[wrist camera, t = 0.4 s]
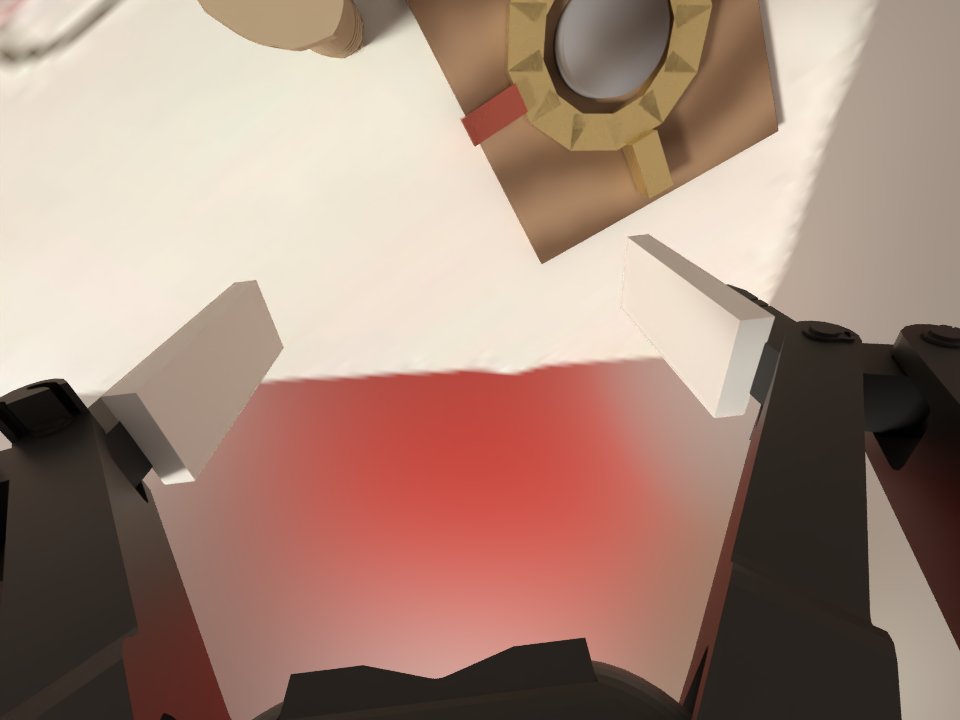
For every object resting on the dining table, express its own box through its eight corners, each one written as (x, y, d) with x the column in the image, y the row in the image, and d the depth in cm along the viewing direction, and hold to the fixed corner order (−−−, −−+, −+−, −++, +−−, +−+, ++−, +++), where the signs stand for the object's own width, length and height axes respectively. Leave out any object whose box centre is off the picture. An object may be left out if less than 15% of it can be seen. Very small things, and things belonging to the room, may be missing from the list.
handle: (293, -22, 29) (169, -126, 16) (388, -4, 29) (342, -89, 17) (299, 63, 31) (195, 32, 18) (386, 77, 32) (345, 58, 19)
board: (369, -71, 28) (356, -102, 23) (690, -340, 23) (743, -437, 19) (539, 260, 40) (549, 277, 36) (768, 130, 35) (810, 133, 31)
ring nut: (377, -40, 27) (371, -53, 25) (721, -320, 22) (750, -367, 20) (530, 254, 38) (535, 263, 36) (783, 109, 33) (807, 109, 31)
